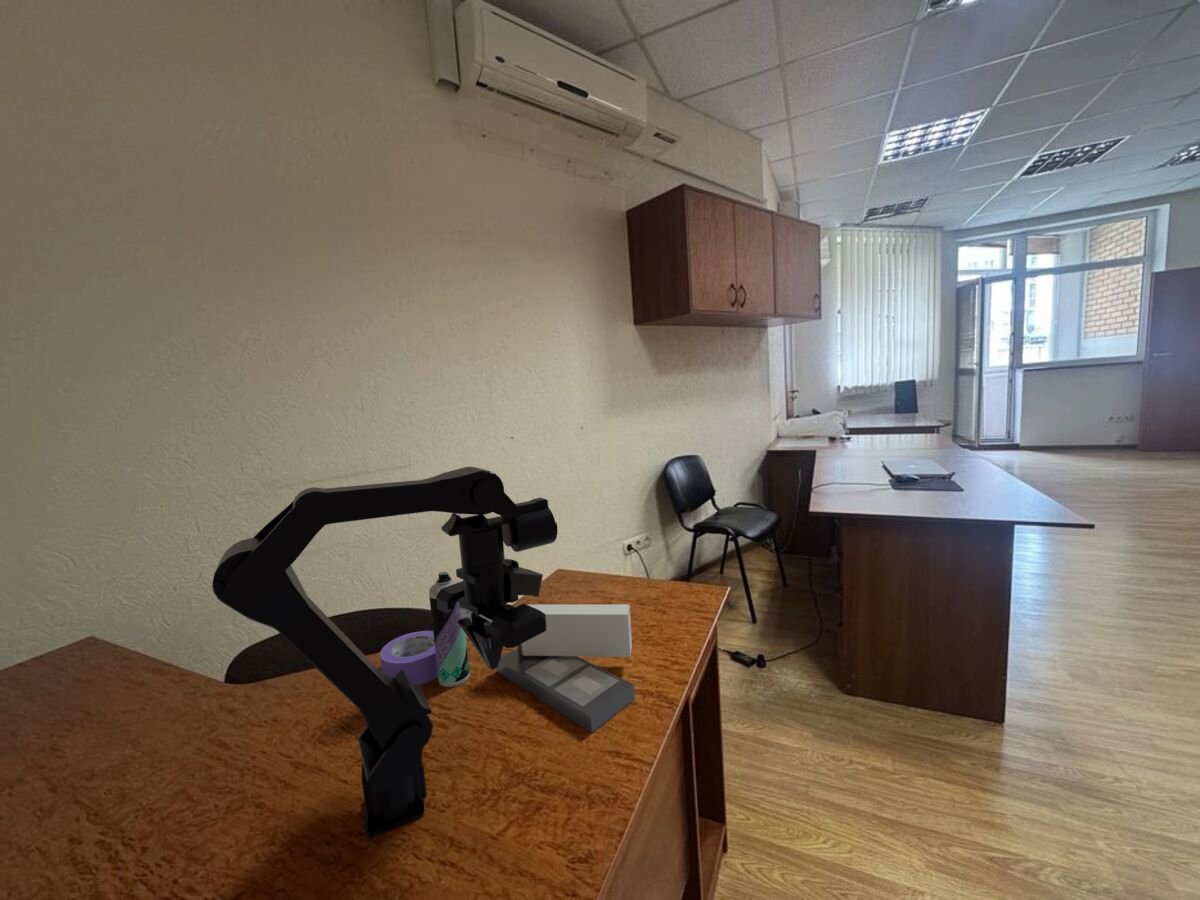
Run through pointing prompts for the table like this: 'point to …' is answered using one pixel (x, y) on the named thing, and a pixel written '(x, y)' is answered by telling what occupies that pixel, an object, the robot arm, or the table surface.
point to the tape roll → (411, 657)
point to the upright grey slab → (582, 631)
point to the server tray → (569, 686)
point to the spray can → (448, 638)
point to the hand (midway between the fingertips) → (493, 667)
